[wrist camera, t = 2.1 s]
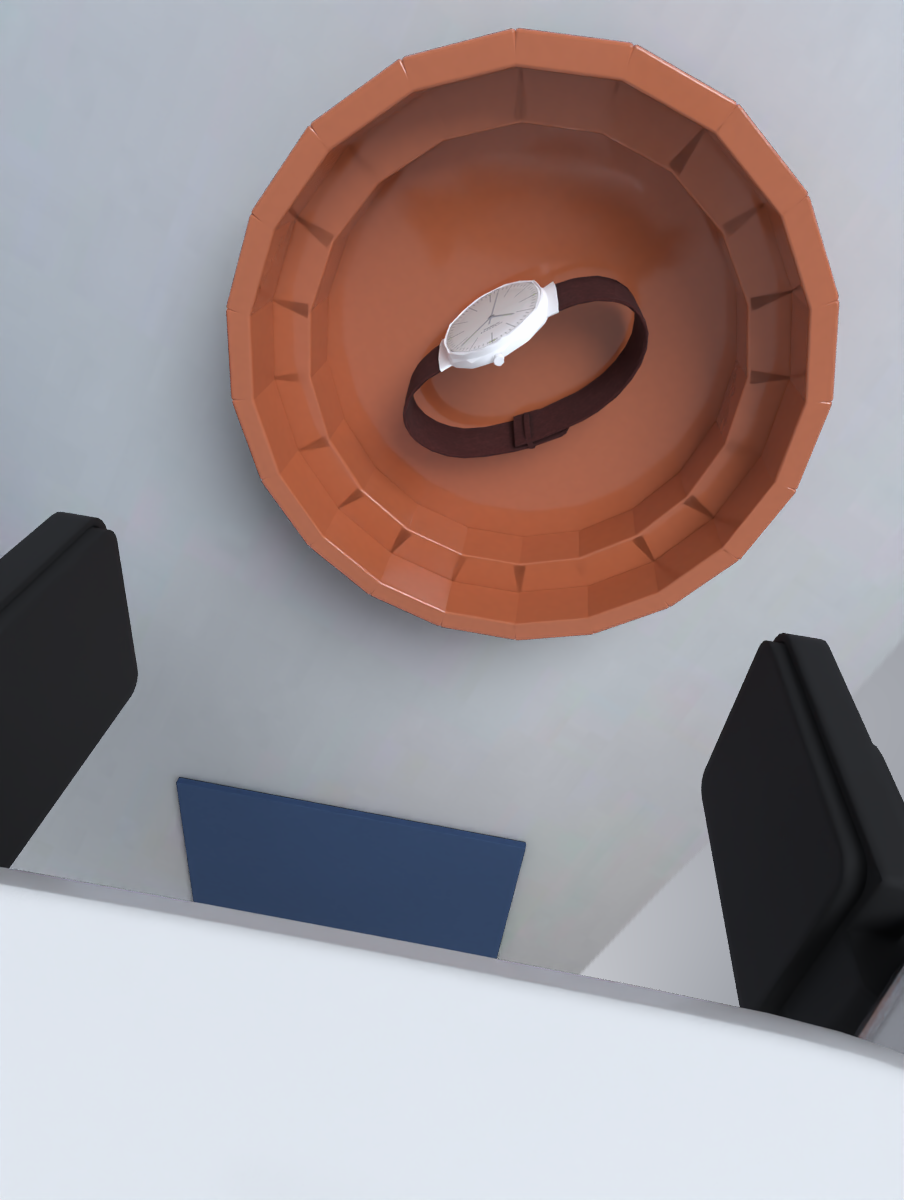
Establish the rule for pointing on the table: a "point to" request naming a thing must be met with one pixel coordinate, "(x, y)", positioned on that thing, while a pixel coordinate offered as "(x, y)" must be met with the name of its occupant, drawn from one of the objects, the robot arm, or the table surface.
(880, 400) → the table surface
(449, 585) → the bowl
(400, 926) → the mat
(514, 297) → the watch
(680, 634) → the table surface
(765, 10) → the table surface
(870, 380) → the table surface
